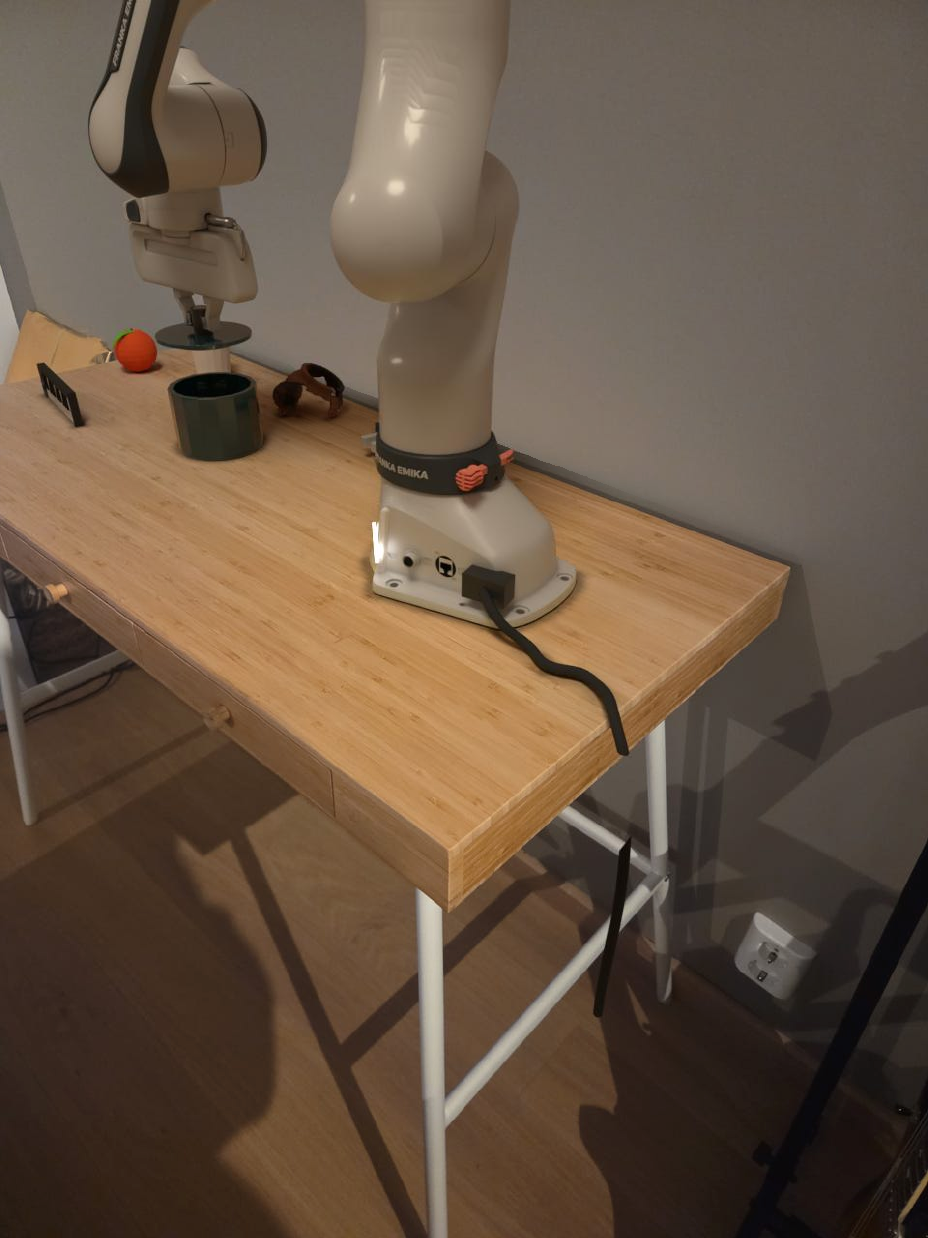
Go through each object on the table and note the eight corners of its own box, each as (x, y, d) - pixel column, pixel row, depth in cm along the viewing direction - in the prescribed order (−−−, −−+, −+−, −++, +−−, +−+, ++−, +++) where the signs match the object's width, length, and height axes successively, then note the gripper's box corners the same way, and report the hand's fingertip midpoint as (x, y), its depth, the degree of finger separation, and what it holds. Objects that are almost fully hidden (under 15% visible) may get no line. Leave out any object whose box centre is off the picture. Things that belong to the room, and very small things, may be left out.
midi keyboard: (44, 394, 133) (35, 363, 130) (52, 393, 133) (44, 362, 130) (74, 427, 121) (66, 393, 118) (83, 425, 122) (75, 392, 119)
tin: (280, 442, 117) (273, 383, 112) (214, 467, 109) (204, 405, 105) (228, 424, 123) (219, 366, 118) (162, 446, 115) (150, 386, 111)
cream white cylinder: (229, 382, 139) (223, 339, 135) (188, 381, 139) (181, 339, 135) (239, 369, 145) (233, 328, 141) (199, 369, 145) (193, 328, 141)
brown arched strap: (297, 401, 133) (320, 357, 129) (338, 437, 131) (362, 394, 127) (246, 403, 123) (269, 355, 119) (290, 443, 121) (314, 396, 117)
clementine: (132, 380, 139) (123, 337, 135) (104, 373, 142) (95, 331, 138) (169, 368, 145) (161, 326, 141) (141, 362, 148) (133, 321, 144)
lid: (272, 340, 109) (268, 306, 107) (195, 360, 101) (189, 324, 99) (213, 324, 115) (208, 291, 113) (136, 342, 107) (129, 307, 105)
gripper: (262, 216, 96) (275, 337, 104) (157, 199, 107) (176, 310, 114) (218, 222, 92) (235, 347, 100) (113, 203, 103) (136, 319, 110)
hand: (203, 327), depth 107 cm, fingers closed on lid, 2 cm apart
